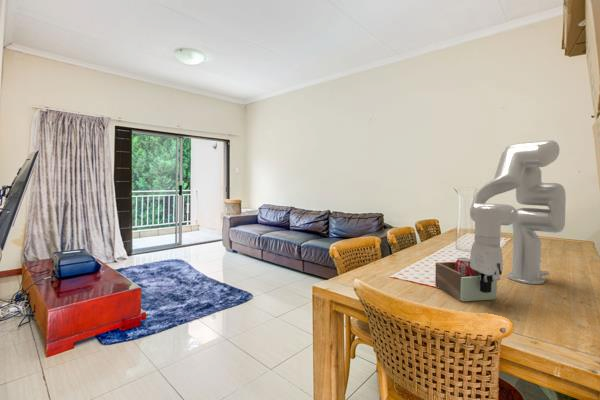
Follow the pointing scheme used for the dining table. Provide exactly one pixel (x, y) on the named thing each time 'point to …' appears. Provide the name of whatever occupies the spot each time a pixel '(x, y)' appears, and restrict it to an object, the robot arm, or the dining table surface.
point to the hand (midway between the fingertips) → (485, 291)
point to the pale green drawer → (475, 289)
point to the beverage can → (464, 267)
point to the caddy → (449, 278)
